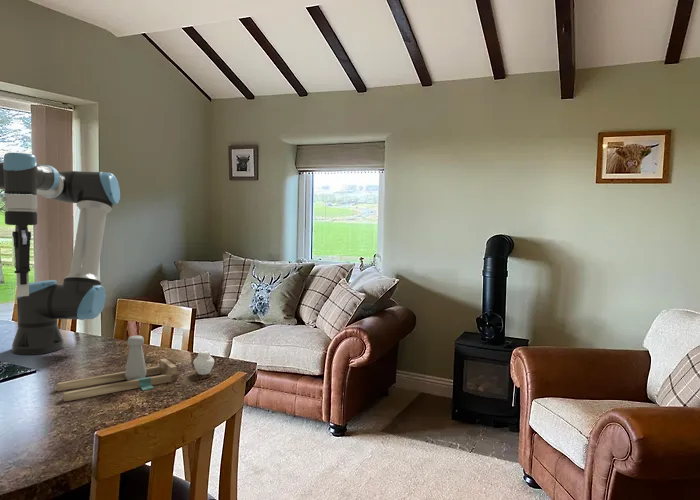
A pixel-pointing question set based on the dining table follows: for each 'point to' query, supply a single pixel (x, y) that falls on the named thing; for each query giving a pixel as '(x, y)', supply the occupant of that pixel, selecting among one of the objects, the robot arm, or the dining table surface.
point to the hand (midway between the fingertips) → (23, 295)
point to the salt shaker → (135, 359)
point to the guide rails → (144, 383)
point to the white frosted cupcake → (203, 363)
